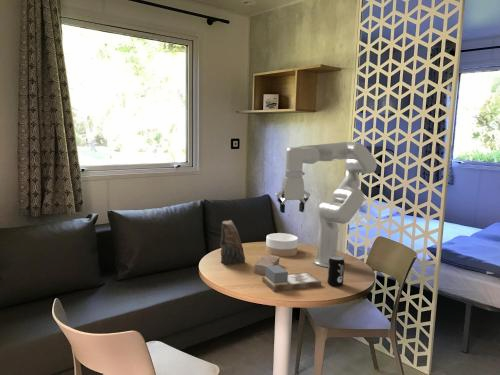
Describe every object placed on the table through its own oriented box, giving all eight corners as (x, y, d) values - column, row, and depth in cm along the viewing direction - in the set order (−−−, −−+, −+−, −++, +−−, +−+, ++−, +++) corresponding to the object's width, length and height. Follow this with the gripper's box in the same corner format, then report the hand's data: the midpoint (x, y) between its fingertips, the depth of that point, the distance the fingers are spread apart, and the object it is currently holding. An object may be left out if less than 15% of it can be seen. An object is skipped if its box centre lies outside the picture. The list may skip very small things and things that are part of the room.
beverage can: (333, 288, 165) (335, 260, 163) (324, 282, 170) (325, 255, 169) (346, 286, 167) (347, 259, 166) (336, 280, 173) (338, 254, 172)
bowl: (281, 245, 228) (282, 231, 227) (303, 253, 215) (304, 238, 213) (259, 250, 217) (260, 235, 216) (281, 258, 204) (281, 242, 203)
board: (307, 276, 177) (307, 271, 177) (321, 286, 166) (321, 281, 166) (262, 281, 169) (262, 276, 169) (273, 291, 158) (273, 286, 158)
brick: (270, 276, 177) (270, 266, 177) (252, 273, 180) (253, 263, 179) (279, 265, 193) (280, 256, 192) (263, 263, 195) (263, 254, 195)
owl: (224, 266, 187) (225, 225, 185) (211, 259, 198) (212, 220, 195) (246, 262, 194) (247, 223, 192) (233, 255, 205) (234, 218, 202)
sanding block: (277, 276, 170) (278, 265, 170) (287, 283, 162) (287, 271, 161) (265, 277, 168) (265, 266, 167) (274, 285, 160) (274, 273, 159)
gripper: (306, 174, 184) (304, 209, 186) (272, 174, 178) (271, 211, 180) (314, 175, 177) (312, 212, 179) (280, 175, 171) (278, 214, 173)
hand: (291, 212), depth 179 cm, fingers open, 9 cm apart
